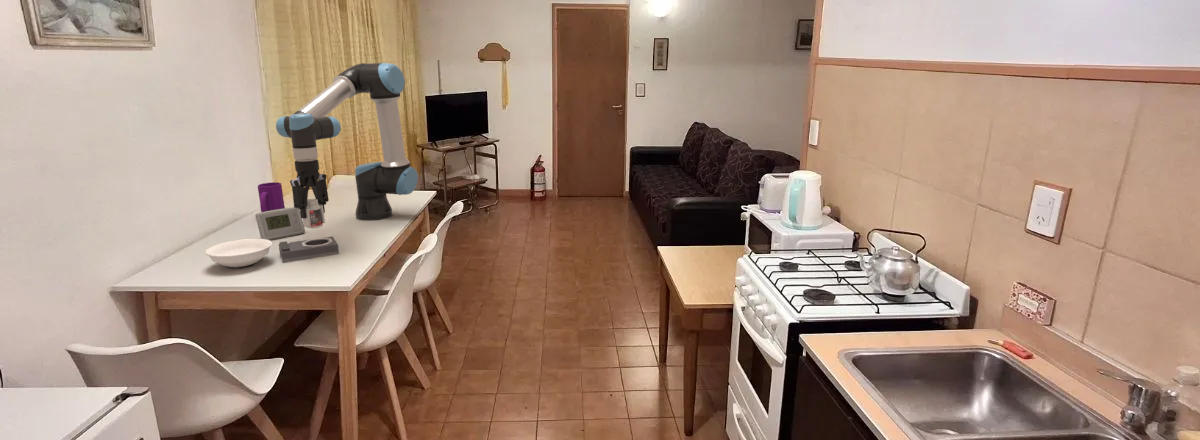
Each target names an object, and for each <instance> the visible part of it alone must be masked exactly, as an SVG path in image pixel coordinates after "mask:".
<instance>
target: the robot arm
mask: <svg viewBox="0 0 1200 440" xmlns="http://www.w3.org/2000/svg"><path fill="white" fill-rule="evenodd" d="M405 84H406V81H405V76H404V74H403V71H402V70H401V68H399V67H398V66H397V65H396V64H394V63H386V62H383V63H382V62H378V63H377V62H375V63H374V62H373V63H366V62H365V63H364V62H363V63H359V64H355V65H352V66H351V67H348V68H347V69H345V70H344V71H341V73H339V74H338V75H336V76H335V77H334V78H333V81H332V83H331V84H330V85H329V86H327V87H325V89H323V90H322V91H321V92H319V93H318V94H317V95H316V96H314V97H313V98H311V100H309V101H308V102H306V103H305V104H304V105H303V106H301V108H299V109H298V110H297V111H295V112H294V113H293V114H291V115H285V116H281V117H279V118H277V121H276V122H275V123H276V124H275V129H276V131H277V133H278V135H279V136H281V137H283V138H289V139H291V143H292V145H291V146H292V153H293V159H294V160H295V161H294V167H295V168H294V169H295V172H296V173H297V174H296V178H295V179H294V180H293V179H291V180H290V181H289V183H290V185H291V190H292V199H293V207H294V208H298V209H300V213H301V218H302V221H303V225H304V228H307V227H311V222H310V214H309V209H306V208H307V199H309V198H308V197H309V191H310V189H311V190H312V192H313V195H314V199H317V200H318V205H320V207H321V214H322V222H323V224H325V223H326V219H325V214H326V213H325V212H326V210H325V208H326V207H325V205H327V203H328V202H329V193H328V187H327V174H323V173H320V171H319V170H320V164H319V160H318V158H319V154H318V147H317V141H318V140H326V139H333V138H335V137H337V136H338V135H340V133H341V132H342V131H341V129H342V128H341V127H342V126H341V123H340V121H339V119H337V118H336V117H335V116H327V115H328V114H330V113H331V112H332V111H333V110H335V109H336V108H337V107H338V106H339V105H340V104H342V103H343V102H344V101H345V100H347V99H351V98H353V97H354V96H356V95H358V94H365V93H366V94H369V97H370V100H371V101H373V102H374V104H375V110H376V117H377V122H378V130H379V137H380V142H381V148H382V155H383V161H375V162H370V163H363V164H359V165H356V167H355V169H354V171H355V175H354V176H355V183H356V191H357V192H356V193H357V199H358V200H357V203H356V208H355V218H356V219H357V220H361V221H375V220H382V219H383V220H384V219H387V218H389V217H392V216H393V214H394V213H393V208H392V206H391V205H390V201H389V200H388V196H387V195H398V196H402V195H404V196H405V195H410V194H411V193H412V192H414V191H415V189H416V187H417V185H418V180H419V179H418V178H419V174H418V171H417V170H416V169H415V167H412V166H411V161H410V160H409V159H407V157H406V153H405V146H404V145H405V144H404V139H403V132H402V125H401V117H400V109H399V103H398V100H399V99H400V98H401V93H402V92H403V91H404V89H405Z"/></svg>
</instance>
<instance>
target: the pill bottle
mask: <svg viewBox="0 0 1200 440" xmlns="http://www.w3.org/2000/svg"><path fill="white" fill-rule="evenodd" d="M306 209H309V214H310V222H311V227H306V229H317V228H321V227H323V224H324V223H323V222H322V214H321V207H320V205H318V200H317V199H316V198H308V199H307V208H306Z"/></svg>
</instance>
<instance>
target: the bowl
mask: <svg viewBox="0 0 1200 440" xmlns="http://www.w3.org/2000/svg"><path fill="white" fill-rule="evenodd" d="M272 245H273V242H272V240H266V239H261V238H244V239H236V240H230V241H226V242H221V243H218V244H215V245H213V246H210V247H208V248H206V250H205V251H204V254H205V255H206V256H208V257H209V258H210V259H211V261H212V262H213V263H217V264H219V265H221V266H224V267H228V268H242V267H247V266H251V265H254V264H255V263H257V262H259V261H260V260H262V259H263V258H264V257H265V256H267V255H268V254H269V252H270V248H271V247H272Z"/></svg>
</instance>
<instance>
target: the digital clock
mask: <svg viewBox="0 0 1200 440" xmlns="http://www.w3.org/2000/svg"><path fill="white" fill-rule="evenodd" d="M254 216H255V219H256V221H255V222H256V224H257V229H258V231H259V236H260V239H266V240H270V241H274V240H279V239H285V238H290V237H295V236H297V235H301V234H302V235H303V234H305V232H306V230H305V227H304V225H303V218H301V213H300V209H298V208H294V206H291V207H285V208H283V209H277V210H271V211H266V212H261V211H260V212H257V213H256V214H255V215H254Z"/></svg>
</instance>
